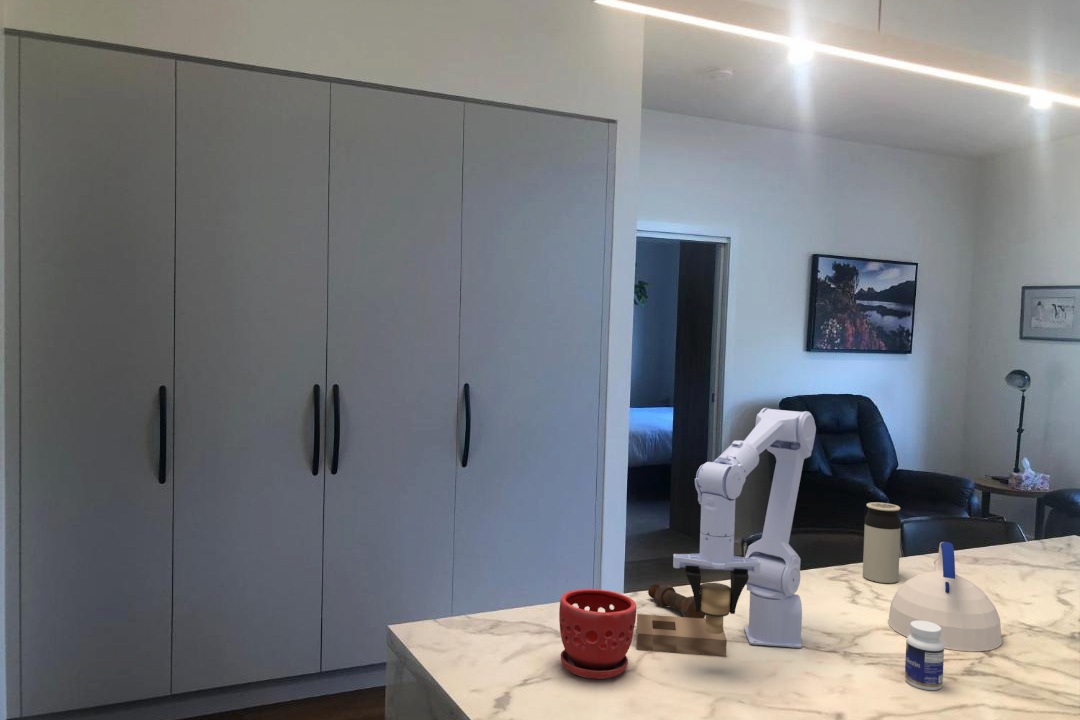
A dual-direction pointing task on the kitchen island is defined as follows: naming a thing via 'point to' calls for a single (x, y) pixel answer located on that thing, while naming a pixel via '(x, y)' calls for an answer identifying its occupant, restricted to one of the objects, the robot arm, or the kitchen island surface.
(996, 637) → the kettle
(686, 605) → the bolt
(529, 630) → the kitchen island surface
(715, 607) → the oak peg
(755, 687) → the kitchen island surface
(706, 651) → the brown flat rectangular block
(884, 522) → the travel mug
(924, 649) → the pill bottle
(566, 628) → the plant pot
